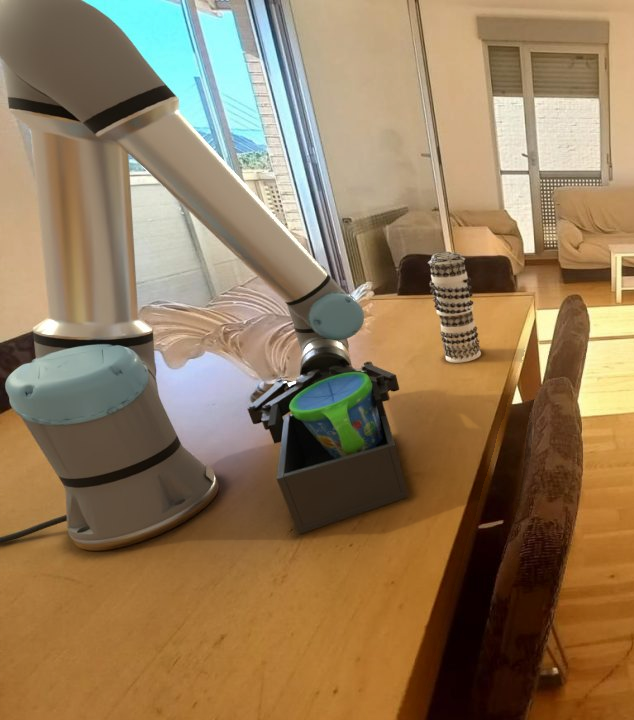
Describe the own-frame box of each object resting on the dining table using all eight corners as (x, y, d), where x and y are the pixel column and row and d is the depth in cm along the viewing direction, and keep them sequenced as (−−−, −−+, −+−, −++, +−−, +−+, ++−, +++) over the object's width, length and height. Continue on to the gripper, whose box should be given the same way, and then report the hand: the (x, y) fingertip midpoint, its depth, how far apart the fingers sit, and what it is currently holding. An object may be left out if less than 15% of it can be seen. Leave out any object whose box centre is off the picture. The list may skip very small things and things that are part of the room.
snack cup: (400, 457, 68) (370, 398, 63) (319, 490, 64) (282, 430, 59) (391, 410, 80) (366, 358, 75) (324, 436, 77) (293, 382, 72)
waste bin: (298, 535, 62) (276, 479, 58) (301, 463, 77) (283, 415, 73) (408, 497, 68) (394, 444, 65) (391, 437, 83) (379, 392, 79)
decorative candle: (466, 346, 122) (449, 248, 112) (490, 353, 117) (475, 251, 107) (435, 358, 115) (415, 255, 105) (460, 366, 111) (441, 259, 101)
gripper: (405, 369, 89) (427, 419, 72) (248, 404, 78) (229, 472, 60) (397, 332, 86) (417, 374, 69) (232, 362, 75) (208, 421, 57)
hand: (329, 420), depth 65 cm, fingers open, 12 cm apart
